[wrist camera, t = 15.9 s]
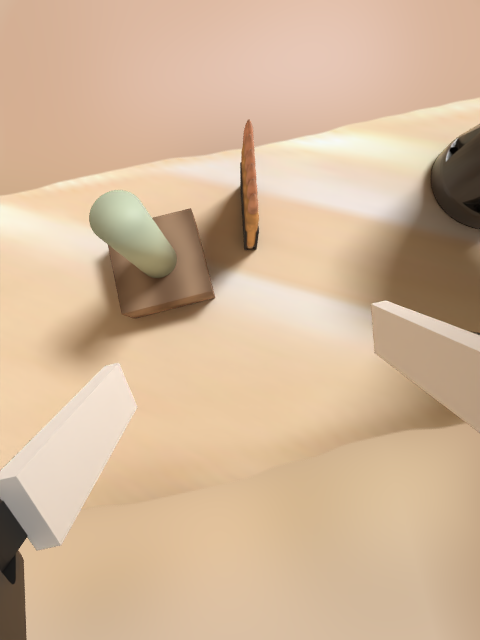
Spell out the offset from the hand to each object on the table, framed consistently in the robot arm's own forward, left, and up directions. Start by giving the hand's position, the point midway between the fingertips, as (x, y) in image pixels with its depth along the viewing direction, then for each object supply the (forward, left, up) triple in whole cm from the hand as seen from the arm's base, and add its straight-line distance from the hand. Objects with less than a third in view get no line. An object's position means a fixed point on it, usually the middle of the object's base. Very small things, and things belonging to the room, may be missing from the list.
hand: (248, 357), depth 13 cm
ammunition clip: (-6, -20, -23) cm, 32 cm away
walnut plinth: (+8, -15, -23) cm, 29 cm away
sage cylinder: (+8, -15, -19) cm, 26 cm away
